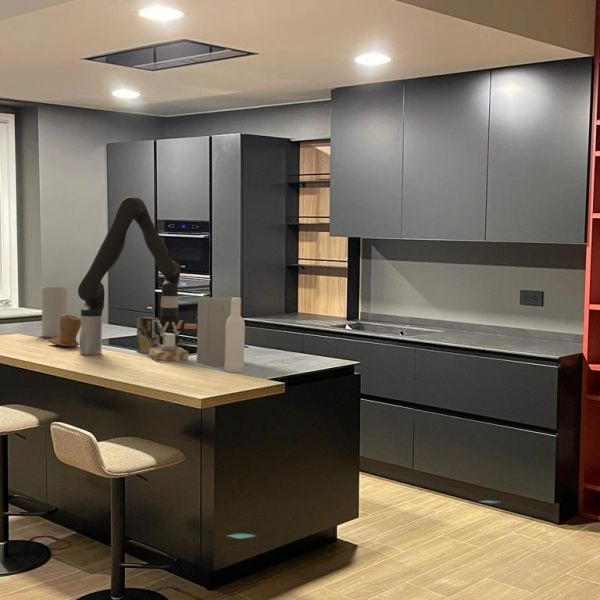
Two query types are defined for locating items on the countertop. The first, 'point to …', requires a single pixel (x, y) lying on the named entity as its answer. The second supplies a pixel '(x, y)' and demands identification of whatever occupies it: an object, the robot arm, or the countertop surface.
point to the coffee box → (147, 334)
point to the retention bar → (185, 326)
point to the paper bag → (212, 329)
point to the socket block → (168, 355)
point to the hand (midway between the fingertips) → (168, 344)
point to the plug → (168, 343)
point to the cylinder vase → (53, 310)
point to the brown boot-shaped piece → (67, 331)
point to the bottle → (234, 339)
